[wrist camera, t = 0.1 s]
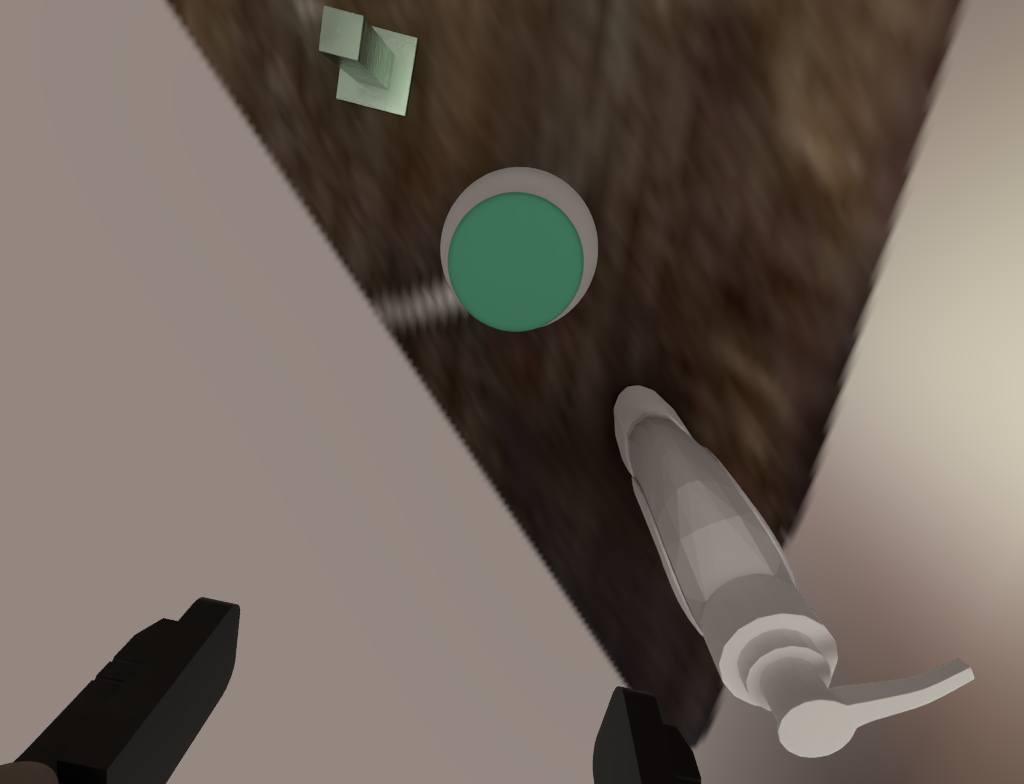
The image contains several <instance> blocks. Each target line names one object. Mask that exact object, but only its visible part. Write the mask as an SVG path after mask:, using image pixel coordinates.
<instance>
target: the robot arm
mask: <svg viewBox="0 0 1024 784" xmlns="http://www.w3.org/2000/svg"><path fill="white" fill-rule="evenodd" d="M239 618H240V607H239V605H237V604H233V603H228V602H223V601H218V600H214V599H209V598H204V597H201V598H199V599H198V600H196V601H195V602H194V603H193V605H192V606H191V607H190V608H189V609H188V610H187V611H186V613H185V614H184V615H183V616H182V617H181V618H180V619H179V621H174V620H170V619H164V618H163V619H161V620H159V621H158V622H156V623H154V624H153V625H151V626H149V627H148V628H146V629H144V630H142V631H141V632H139V633H137V634H136V635H134V636H133V638H132V639H131V640H130V641H129V642H128V643H127V644H126V645H125V646H124V647H123V648H122V649H121V650H120V651H119V652H118V653H117V654H116V655H115V657H114V659H113V661H112V662H109V663H108V664H107V665H106V666H105V667H104V668H103V669H102V670H101V671H100V672H99V673H98V675H97V676H96V678H95V680H94V681H93V680H92V681H91V682H90V683H89V684H88V685H87V686H86V687H85V688H84V689H83V690H82V691H81V692H80V693H79V694H78V696H77V697H76V698H75V699H74V700H73V701H72V702H71V703H70V704H69V705H68V706H67V707H66V708H65V709H64V710H63V711H62V713H60V715H59V716H58V717H57V718H56V719H55V720H54V721H53V722H52V723H51V724H50V725H49V726H48V727H47V728H46V729H45V730H44V731H43V733H42V734H41V735H40V736H39V737H38V738H37V739H36V740H35V741H34V742H33V743H32V744H31V745H30V747H28V748H27V749H26V750H25V751H24V753H22V754H21V755H20V756H19V757H18V758H17V759H16V760H15V761H14V762H13V763H8V764H4V765H0V784H166V782H167V781H168V779H169V778H170V776H171V775H172V773H173V772H174V770H175V768H176V767H177V765H178V764H179V762H180V761H181V759H182V758H183V756H184V754H185V753H186V751H187V750H188V748H189V747H190V745H191V743H192V742H193V740H194V739H195V737H196V736H197V734H198V733H199V731H200V730H201V728H202V726H203V725H204V723H205V722H206V720H207V719H208V717H209V715H210V714H211V712H212V711H213V709H214V707H215V706H216V705H217V703H218V702H219V700H220V698H221V697H222V695H223V693H224V692H225V690H226V688H227V685H228V683H229V680H230V678H231V675H232V672H233V669H234V664H235V657H236V648H237V637H238V628H239V627H238V626H239ZM593 777H594V784H701V776H700V773H699V770H698V767H697V764H696V760H695V757H694V754H693V751H692V750H691V748H690V747H689V745H688V744H687V742H686V741H685V739H684V738H683V736H682V735H681V733H680V732H679V730H678V729H677V727H675V726H670V725H666V724H663V723H662V719H661V716H660V712H659V708H658V704H657V701H656V698H655V696H654V695H653V694H652V693H648V692H643V691H639V690H634V689H629V688H624V687H620V686H618V687H616V688H615V690H614V692H613V695H612V697H611V700H610V703H609V706H608V708H607V711H606V713H605V716H604V719H603V721H602V724H601V727H600V730H599V732H598V735H597V738H596V741H595V746H594V754H593Z"/></svg>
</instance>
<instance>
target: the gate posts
mask: <svg viewBox="0 0 1024 784" xmlns="http://www.w3.org/2000/svg"><path fill="white" fill-rule="evenodd" d="M417 45H418V38H415V37H411V36H407V35H403V34H400V33H396V32H392V31H388V30H384V29H381V28H377V27H373V26H371V25H370V23H369V22H368V21H367V20H366V18H365V17H364V16H362V15H358V14H354V13H350V12H347V11H343V10H339V9H335V8H331V7H328V6H324V9H323V18H322V26H321V35H320V44H319V51H320V52H321V53H323V54H324V55H325V56H326V57H327V58H329V59H330V60H331V61H332V62H334V63H335V64H336V65H337V66H338V67H340V72H339V80H338V88H337V96H336V99H338V100H342V101H346V102H350V103H354V104H358V105H361V106H365V107H369V108H373V109H377V110H381V111H385V112H389V113H393V114H397V115H400V116H404V117H406V113H407V107H408V101H409V94H410V88H411V82H412V76H413V70H414V64H415V58H416V51H417Z"/></svg>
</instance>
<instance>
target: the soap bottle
mask: <svg viewBox="0 0 1024 784" xmlns="http://www.w3.org/2000/svg"><path fill="white" fill-rule="evenodd" d="M614 423H615V436H616V440H617V443H618V447H619V450H620V453H621V457H622V460H623V462H624V464H625V466H626V467H627V469H628V471H629V472H630V474H631V475H632V476H633V477H632V484H633V489H634V493H635V495H636V498H637V500H638V503H639V505H640V507H641V510H642V512H643V515H644V517H645V520H646V522H647V525H648V527H649V530H650V532H651V535H652V537H653V540H654V542H655V545H656V547H657V550H658V552H659V555H660V557H661V560H662V563H663V566H664V569H665V571H666V574H667V576H668V579H669V582H670V584H671V587H672V589H673V591H674V593H675V596H676V598H677V600H678V602H679V603H680V605H681V607H682V609H683V610H684V612H685V614H686V615H687V617H688V619H689V620H690V621H691V623H692V624H693V625H694V626H695V628H696V629H697V630H698V631H699V633H700V634H701V635H702V636H704V639H705V641H706V644H707V646H708V648H709V651H710V653H711V655H712V658H713V660H714V662H715V665H716V667H717V670H718V672H719V674H720V677H721V679H722V681H723V683H724V684H725V685H726V686H727V688H728V689H729V690H730V691H731V692H732V693H733V695H734V696H736V697H738V698H740V699H742V700H744V701H746V702H748V703H750V704H752V705H758V706H761V707H763V708H765V709H767V710H769V711H772V713H773V715H774V717H775V719H776V721H777V723H778V727H777V732H778V737H779V740H780V742H781V743H782V744H783V746H784V747H785V748H786V749H787V750H788V751H790V752H792V753H794V754H796V755H798V756H802V757H810V758H815V757H820V756H826V755H829V754H831V753H834V752H836V751H837V750H839V749H841V748H842V747H843V746H844V745H845V744H846V743H848V741H850V740H851V738H852V736H853V734H854V732H855V730H856V728H857V727H859V726H861V725H864V724H866V723H868V722H870V721H873V720H877V719H880V718H884V717H887V716H890V715H894V714H897V713H901V712H903V711H907V710H911V709H914V708H917V707H920V706H922V705H925V704H928V703H930V702H932V701H934V700H936V699H938V698H940V697H942V696H944V695H946V694H948V693H950V692H952V691H953V690H955V689H957V688H959V687H961V686H963V685H964V684H966V683H968V682H970V681H971V680H973V679H975V678H974V676H973V672H972V669H971V667H970V666H968V665H967V664H966V663H964V662H963V661H962V660H960V659H959V658H957V659H955V660H952V661H950V662H948V663H945V664H943V665H941V666H938V667H936V668H934V669H931V670H929V671H927V672H924V673H921V674H918V675H915V676H912V677H907V678H902V679H897V680H889V681H881V682H873V683H864V684H856V685H841V686H837V687H833V688H831V689H828V687H829V684H830V682H831V679H832V674H833V671H834V669H835V666H836V663H837V660H838V657H837V648H836V641H835V640H834V638H833V637H832V636H831V634H830V633H829V632H828V630H827V629H826V628H825V626H824V625H823V623H822V622H821V621H820V619H819V618H818V617H817V615H816V614H815V612H814V611H813V610H812V608H811V607H810V606H809V604H808V603H807V602H806V600H805V599H804V598H803V596H802V595H801V594H800V592H799V591H798V589H797V585H796V582H795V579H794V576H793V573H792V570H791V567H790V565H789V563H788V561H787V558H786V556H785V554H784V552H783V550H782V548H781V546H780V544H779V543H778V541H777V539H776V538H775V536H774V534H773V533H772V531H771V530H770V528H769V526H768V525H767V523H766V522H765V521H764V519H763V518H762V516H761V515H760V513H759V512H758V511H757V509H756V508H755V507H754V505H753V504H752V503H751V501H750V500H749V499H748V497H747V496H746V495H745V493H744V492H743V491H742V489H741V488H740V487H739V485H738V484H737V483H736V481H735V480H734V479H733V477H732V476H731V475H730V474H729V472H728V471H727V470H726V469H725V467H724V466H723V465H722V464H721V462H720V461H719V460H718V459H717V458H716V457H715V456H714V454H713V453H712V452H711V451H710V450H708V449H707V448H706V447H703V446H701V445H699V444H698V443H697V442H696V441H695V440H694V439H693V438H692V436H691V435H690V433H689V431H688V430H687V428H686V427H685V425H684V424H683V423H682V421H681V420H680V418H679V417H678V415H677V414H676V412H675V411H674V409H673V408H672V407H671V406H670V405H669V404H668V403H666V402H665V401H664V400H663V399H662V398H661V397H660V396H659V395H658V394H657V393H656V392H655V391H654V390H651V389H648V388H646V387H643V386H640V385H636V386H628V387H626V388H625V389H624V390H623V391H622V392H621V393H620V394H619V396H618V398H617V401H616V403H615V406H614Z"/></svg>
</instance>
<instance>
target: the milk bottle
mask: <svg viewBox="0 0 1024 784" xmlns="http://www.w3.org/2000/svg"><path fill="white" fill-rule="evenodd" d="M440 252H441V263H442V268H443V272H444V275H445V278H446V280H447V283H448V285H449V287H450V289H451V291H452V292H453V294H454V295H455V297H456V298H457V300H458V301H459V302H460V303H461V304H462V306H463V307H464V308H465V309H466V310H467V311H468V312H469V313H470V314H471V315H472V316H474V317H475V318H476V319H478V320H479V321H481V322H482V323H484V324H486V325H488V326H490V327H493V328H496V329H499V330H504V331H512V332H520V331H528V330H532V329H536V328H539V327H542V326H545V325H548V324H550V323H552V322H554V321H556V320H558V319H560V318H561V317H563V316H564V315H566V314H567V313H568V312H569V311H570V310H571V309H573V308H574V307H575V306H576V304H577V303H578V302H579V301H580V300H581V298H582V297H583V296H584V294H585V293H586V291H587V289H588V287H589V285H590V283H591V281H592V278H593V275H594V272H595V268H596V264H597V257H598V239H597V232H596V228H595V224H594V221H593V218H592V216H591V214H590V211H589V209H588V207H587V206H586V204H585V202H584V201H583V200H582V198H581V197H580V196H579V195H578V193H577V192H576V191H575V190H574V189H573V188H572V187H571V186H569V185H568V184H567V183H566V182H564V181H563V180H562V179H560V178H558V177H556V176H555V175H553V174H550V173H548V172H545V171H542V170H539V169H534V168H528V167H511V168H505V169H500V170H497V171H494V172H491V173H489V174H487V175H484V176H483V177H481V178H479V179H478V180H476V181H475V182H473V183H472V184H471V185H470V186H469V187H467V188H466V189H465V190H464V191H463V192H462V194H461V195H460V196H459V197H458V198H457V200H456V201H455V203H454V204H453V206H452V208H451V209H450V211H449V213H448V216H447V218H446V221H445V223H444V227H443V231H442V236H441V246H440Z"/></svg>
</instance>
